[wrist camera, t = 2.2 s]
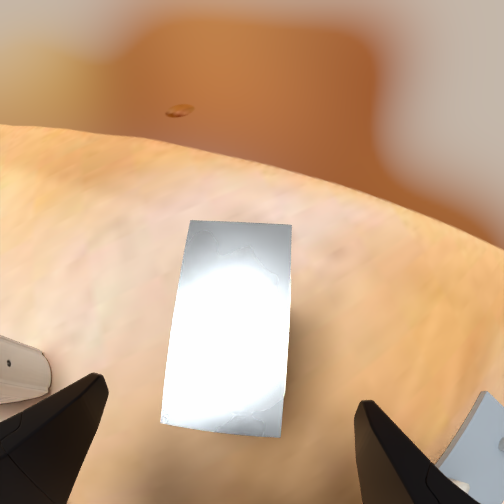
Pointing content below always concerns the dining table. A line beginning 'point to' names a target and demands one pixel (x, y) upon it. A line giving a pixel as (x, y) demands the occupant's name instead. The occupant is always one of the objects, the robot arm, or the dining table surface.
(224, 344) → the block
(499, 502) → the grey peg board
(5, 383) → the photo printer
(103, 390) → the robot arm
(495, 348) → the dining table surface
